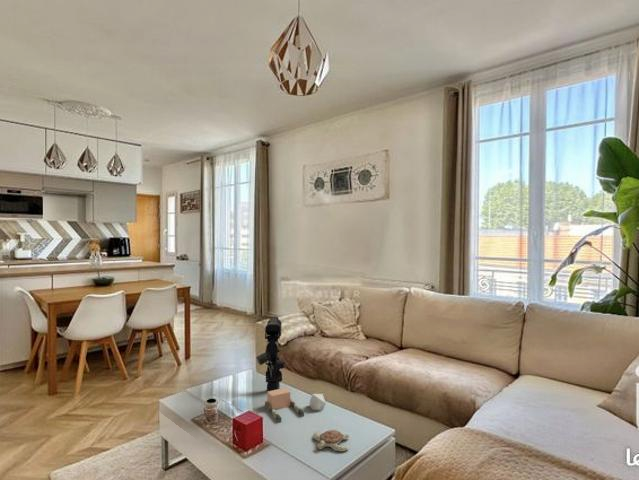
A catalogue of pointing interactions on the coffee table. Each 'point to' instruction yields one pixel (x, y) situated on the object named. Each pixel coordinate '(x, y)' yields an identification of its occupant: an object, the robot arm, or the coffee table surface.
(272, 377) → the robot arm
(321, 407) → the die
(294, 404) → the track
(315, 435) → the decorative turtle
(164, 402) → the coffee table surface
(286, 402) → the block
